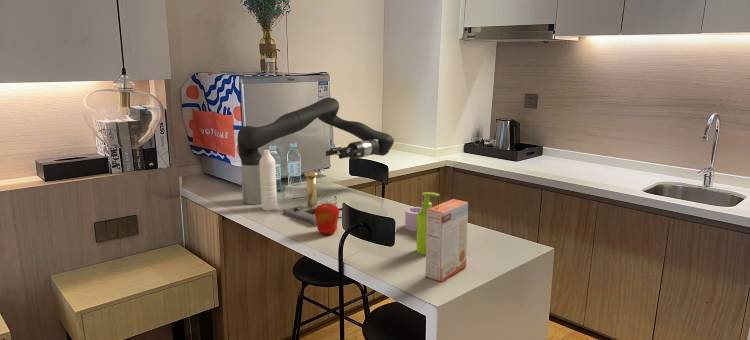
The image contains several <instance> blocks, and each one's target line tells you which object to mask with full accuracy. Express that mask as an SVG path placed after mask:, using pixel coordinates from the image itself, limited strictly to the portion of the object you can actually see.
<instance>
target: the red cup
mask: <svg viewBox="0 0 750 340" xmlns="http://www.w3.org/2000/svg"><path fill="white" fill-rule="evenodd" d="M339 216H340V209H339V208H338V206H337V205H335V204H333V203H328V202H326V203H321V204H317V208H316V210H315V218H316V222H317V225H316V229H317V231H319V232H320V233H321V234H322V235H328V236H329V235H333V234H335V233H336V232H337V230H338V220H339Z"/></svg>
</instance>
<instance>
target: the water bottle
mask: <svg viewBox="0 0 750 340" xmlns="http://www.w3.org/2000/svg"><path fill="white" fill-rule="evenodd" d="M275 154H276V155H277V154H278V152H277V150H270V149H264V150H263V154H262V157H261V159H260V162H259V166H260V184H261V202H262V203H260V204H261V210H264V211H274V210H277V209H278V198H277V197H278V193H277V191H278V189H277V171H276V170H277V169H276V160H275V158H274V157H273V156H272V155H275Z"/></svg>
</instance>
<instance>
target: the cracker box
mask: <svg viewBox="0 0 750 340" xmlns="http://www.w3.org/2000/svg"><path fill="white" fill-rule="evenodd" d="M468 216H469V201H464V200H459V199H456V198H452V199H449V200H447V201H444V202H442V203H440V204H437V205H434V206H432V208H429V209H427V210H426V255H425V277H426V278H429V279H430V280H435V281H437V282H439V283H441V282H444V281H445V280H447V279H449V278H450V277H452V276H453V275H456V274H457V273H459V272H460V271H461V270H463V269H465V268H467V256H468V255H467V254H468V253H467V250H468V249H467V248H468V223H469V222H468V220H469V219H468Z"/></svg>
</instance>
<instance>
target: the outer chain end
mask: <svg viewBox="0 0 750 340" xmlns="http://www.w3.org/2000/svg"><path fill="white" fill-rule="evenodd" d="M316 208H317V207H315V206H314V207H311V208H307V209H303V210H300V211H297V215H299V216H301V217H304V218H307V219H310V220H313V224H312V225H314V224H315V225H314V226H317V222H316V218H315V214H310V213H313V212H315V210H316Z"/></svg>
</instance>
